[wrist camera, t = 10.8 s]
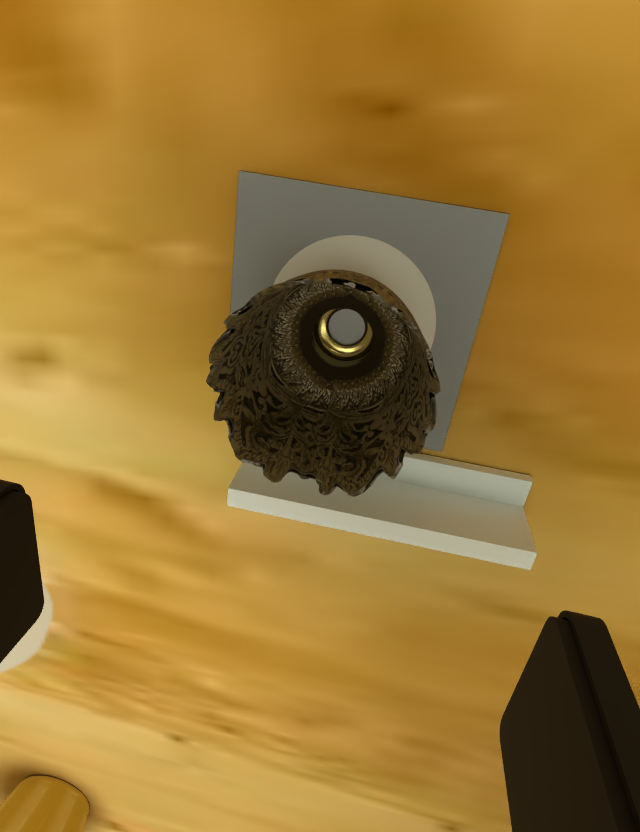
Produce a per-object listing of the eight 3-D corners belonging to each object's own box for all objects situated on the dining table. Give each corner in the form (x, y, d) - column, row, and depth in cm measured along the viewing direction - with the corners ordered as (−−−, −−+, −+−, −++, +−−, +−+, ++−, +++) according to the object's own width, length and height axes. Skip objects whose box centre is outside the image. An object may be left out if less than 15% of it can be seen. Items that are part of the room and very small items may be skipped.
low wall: (506, 538, 28) (519, 594, 24) (248, 484, 29) (225, 530, 25) (530, 475, 26) (549, 526, 22) (254, 420, 27) (230, 460, 23)
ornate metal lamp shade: (250, 372, 25) (186, 456, 18) (288, 216, 22) (228, 246, 15) (397, 421, 25) (391, 525, 18) (458, 273, 22) (480, 330, 15)
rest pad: (441, 448, 26) (442, 452, 26) (226, 406, 27) (223, 409, 26) (508, 213, 21) (509, 214, 21) (240, 170, 22) (237, 170, 21)
